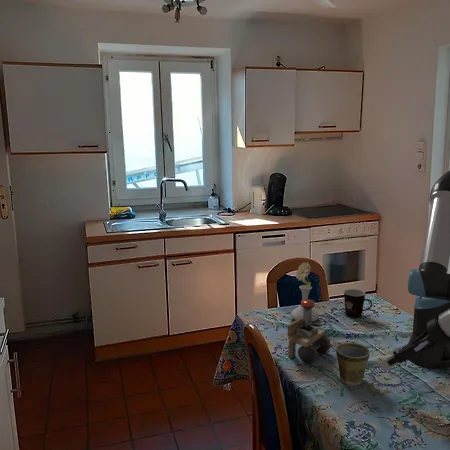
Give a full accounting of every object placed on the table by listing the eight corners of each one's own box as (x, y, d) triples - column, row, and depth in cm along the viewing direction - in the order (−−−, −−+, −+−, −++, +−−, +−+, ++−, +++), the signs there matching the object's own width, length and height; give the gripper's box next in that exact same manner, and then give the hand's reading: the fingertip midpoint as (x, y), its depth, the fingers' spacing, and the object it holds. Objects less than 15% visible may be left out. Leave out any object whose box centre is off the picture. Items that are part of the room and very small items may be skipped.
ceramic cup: (367, 391, 135) (369, 359, 134) (333, 385, 139) (334, 354, 137) (369, 370, 147) (370, 341, 146) (337, 365, 151) (338, 336, 149)
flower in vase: (289, 313, 194) (290, 256, 189) (316, 314, 193) (318, 256, 188) (292, 326, 181) (293, 265, 176) (321, 326, 181) (323, 265, 176)
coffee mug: (338, 312, 194) (339, 290, 192) (356, 310, 197) (357, 288, 195) (354, 323, 183) (355, 299, 181) (372, 320, 186) (374, 297, 184)
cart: (330, 353, 159) (331, 321, 157) (313, 366, 150) (313, 333, 148) (305, 344, 165) (306, 314, 163) (287, 357, 156) (287, 325, 154)
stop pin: (316, 332, 157) (317, 301, 155) (309, 337, 154) (310, 305, 152) (304, 329, 160) (305, 298, 158) (297, 333, 157) (298, 301, 154)
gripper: (450, 348, 115) (381, 387, 129) (464, 332, 125) (398, 370, 138) (430, 322, 117) (364, 363, 131) (445, 309, 127) (382, 348, 141)
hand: (382, 366), depth 135 cm, fingers closed
